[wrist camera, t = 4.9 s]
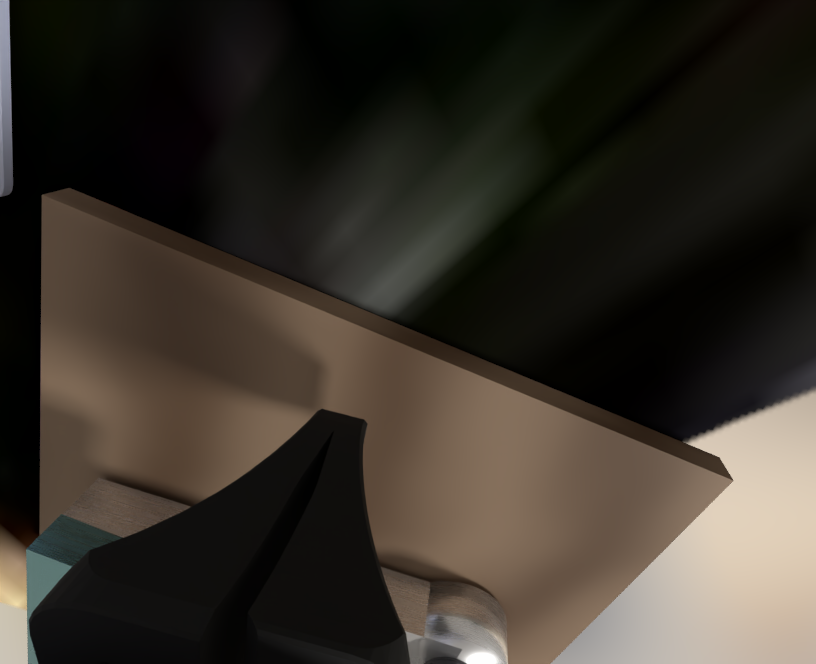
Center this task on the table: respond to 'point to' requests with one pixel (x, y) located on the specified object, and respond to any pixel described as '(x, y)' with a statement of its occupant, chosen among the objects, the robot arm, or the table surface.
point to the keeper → (57, 559)
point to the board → (351, 395)
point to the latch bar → (412, 597)
